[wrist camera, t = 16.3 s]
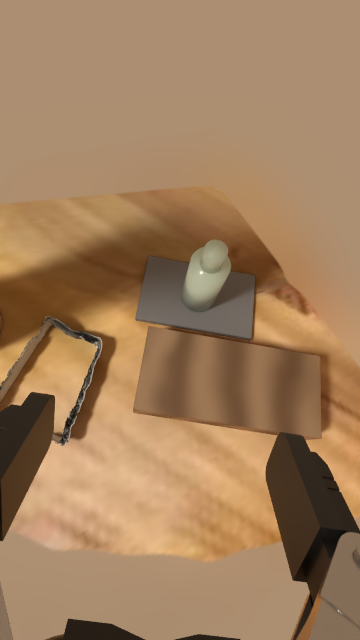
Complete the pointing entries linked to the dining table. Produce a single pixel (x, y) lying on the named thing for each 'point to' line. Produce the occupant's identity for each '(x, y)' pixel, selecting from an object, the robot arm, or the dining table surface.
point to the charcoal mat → (168, 309)
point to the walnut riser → (229, 384)
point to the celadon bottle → (206, 276)
